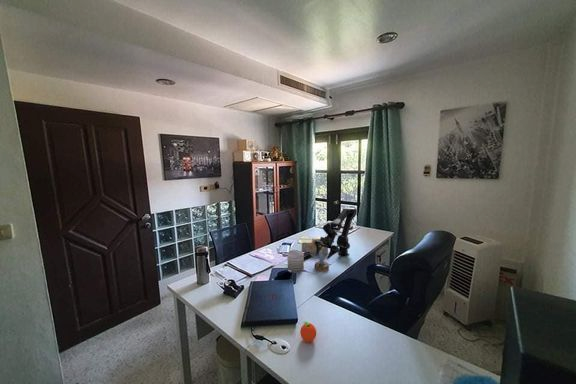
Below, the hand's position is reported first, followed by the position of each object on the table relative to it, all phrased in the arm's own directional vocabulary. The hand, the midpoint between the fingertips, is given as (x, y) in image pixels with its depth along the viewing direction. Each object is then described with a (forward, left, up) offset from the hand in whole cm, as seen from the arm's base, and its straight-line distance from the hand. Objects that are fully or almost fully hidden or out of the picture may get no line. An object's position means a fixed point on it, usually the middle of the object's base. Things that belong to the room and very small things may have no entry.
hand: (321, 257), depth 160 cm
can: (+16, -9, -8) cm, 20 cm away
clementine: (+46, +46, -8) cm, 66 cm away
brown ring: (0, 0, -8) cm, 8 cm away
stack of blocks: (-13, -25, -8) cm, 30 cm away
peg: (0, 0, -8) cm, 8 cm away
